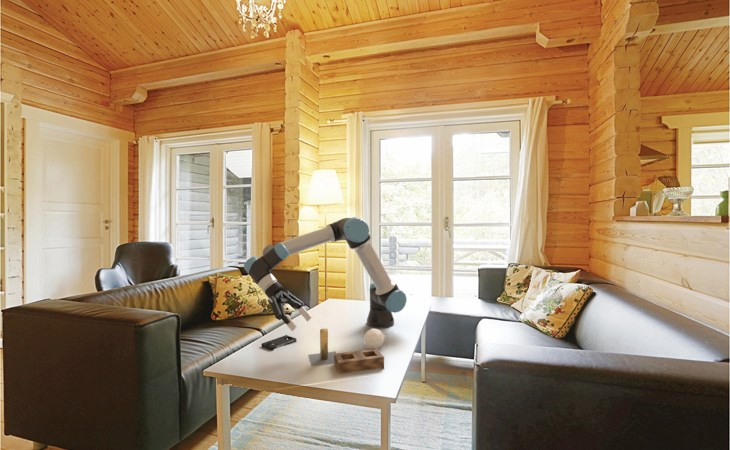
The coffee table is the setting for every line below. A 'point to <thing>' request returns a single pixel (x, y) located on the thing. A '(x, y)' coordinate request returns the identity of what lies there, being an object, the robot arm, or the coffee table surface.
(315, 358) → the slate rubber mat
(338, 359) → the walnut hole block
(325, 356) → the brass peg
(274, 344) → the vhs tape
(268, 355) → the coffee table surface
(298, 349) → the coffee table surface
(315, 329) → the coffee table surface
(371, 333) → the beige faceted ovoid
